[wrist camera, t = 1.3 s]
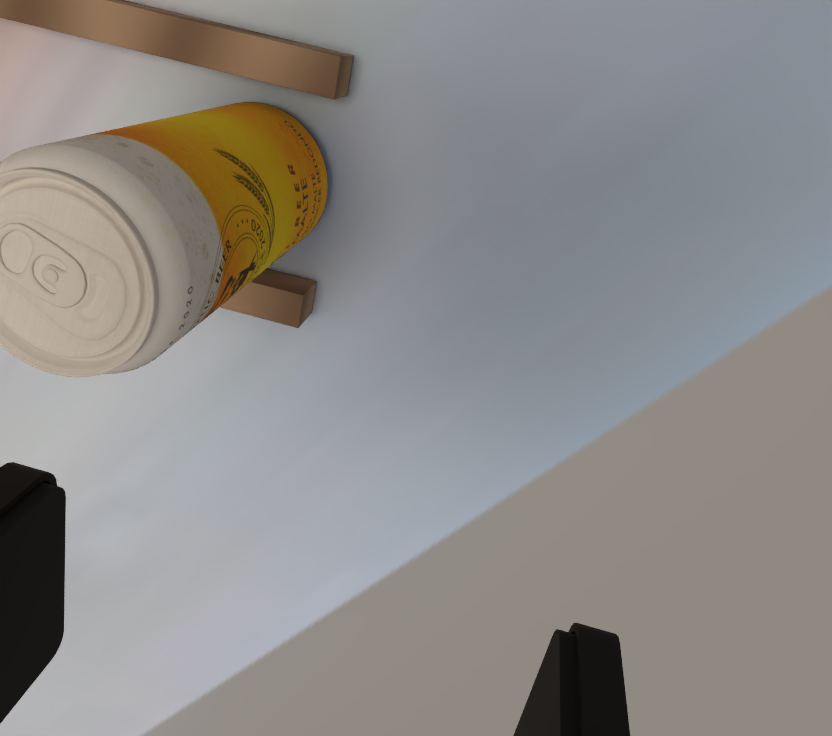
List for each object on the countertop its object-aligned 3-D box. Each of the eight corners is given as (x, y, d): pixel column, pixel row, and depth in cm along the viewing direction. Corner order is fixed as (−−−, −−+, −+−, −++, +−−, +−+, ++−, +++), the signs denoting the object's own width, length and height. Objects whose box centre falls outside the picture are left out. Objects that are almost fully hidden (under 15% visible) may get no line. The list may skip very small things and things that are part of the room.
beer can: (290, 272, 34) (113, 433, 20) (173, 194, 33) (-91, 304, 19) (359, 156, 31) (210, 250, 18) (233, 69, 30) (-22, 97, 17)
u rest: (353, 55, 30) (325, 58, 26) (311, 312, 34) (283, 345, 31) (-242, -88, 31) (-347, -105, 27) (-204, 176, 36) (-289, 192, 32)
